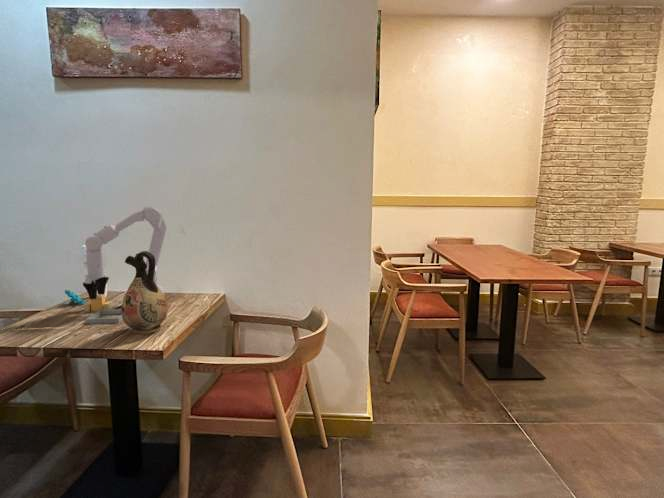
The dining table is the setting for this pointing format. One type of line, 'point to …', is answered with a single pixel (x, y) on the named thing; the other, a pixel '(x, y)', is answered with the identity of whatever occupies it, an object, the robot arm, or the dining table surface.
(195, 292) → the dining table surface
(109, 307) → the panel
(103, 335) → the dining table surface
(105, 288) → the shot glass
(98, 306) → the block
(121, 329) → the dining table surface
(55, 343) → the dining table surface
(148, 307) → the ceramic jug
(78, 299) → the gear
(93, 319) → the parts tray
